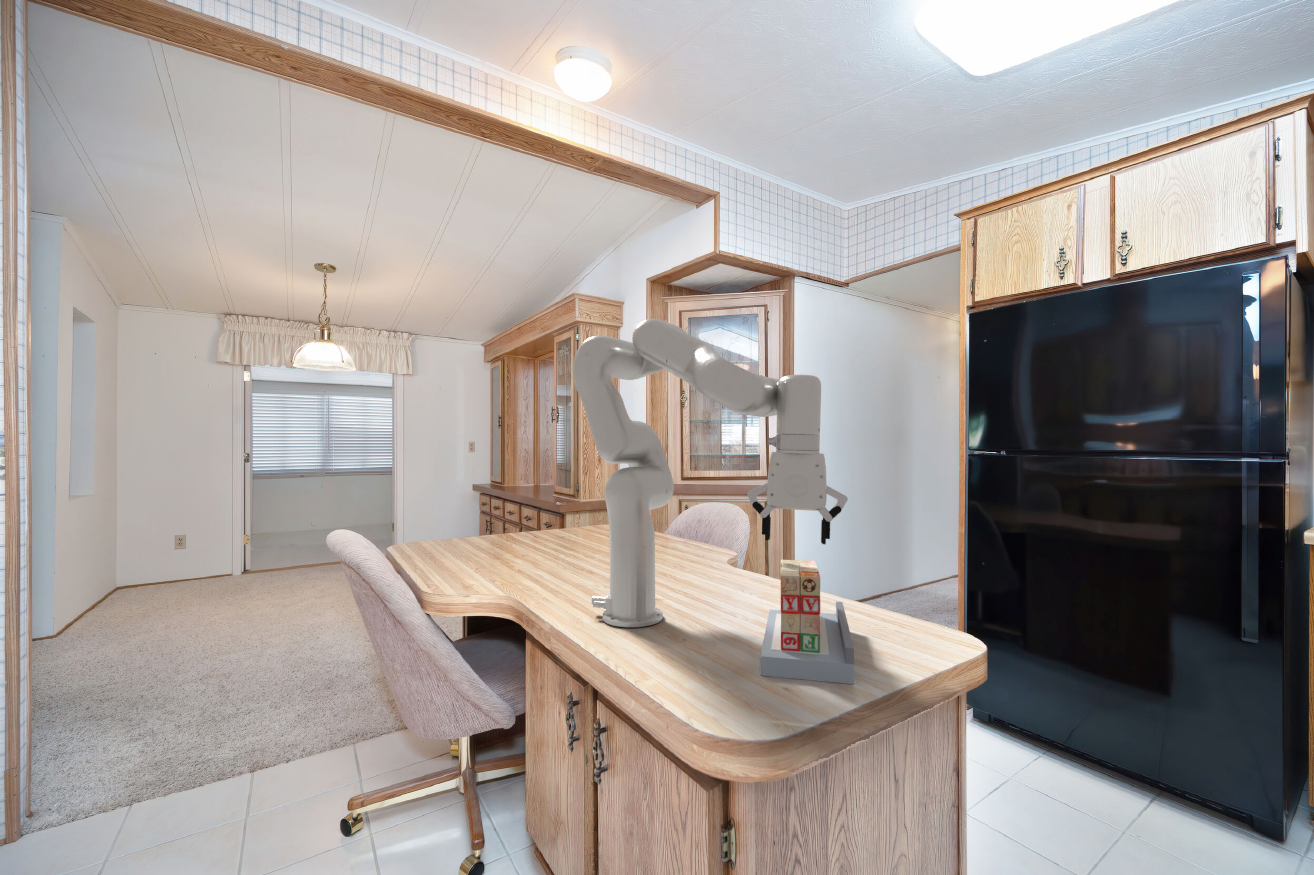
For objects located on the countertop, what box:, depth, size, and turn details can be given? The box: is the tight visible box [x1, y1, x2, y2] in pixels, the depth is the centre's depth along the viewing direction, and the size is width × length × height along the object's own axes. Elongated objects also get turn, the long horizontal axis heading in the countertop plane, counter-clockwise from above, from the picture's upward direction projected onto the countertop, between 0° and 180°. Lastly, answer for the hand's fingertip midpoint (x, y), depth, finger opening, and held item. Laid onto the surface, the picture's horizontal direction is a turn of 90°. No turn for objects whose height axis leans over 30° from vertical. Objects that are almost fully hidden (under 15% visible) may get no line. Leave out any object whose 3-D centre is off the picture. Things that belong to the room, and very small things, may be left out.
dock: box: [759, 601, 855, 685], centre depth 100 cm, size 14×26×5 cm, turn 166°
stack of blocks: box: [780, 559, 821, 653], centre depth 101 cm, size 21×6×12 cm, turn 168°
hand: (795, 541), depth 101 cm, fingers open, 9 cm apart
